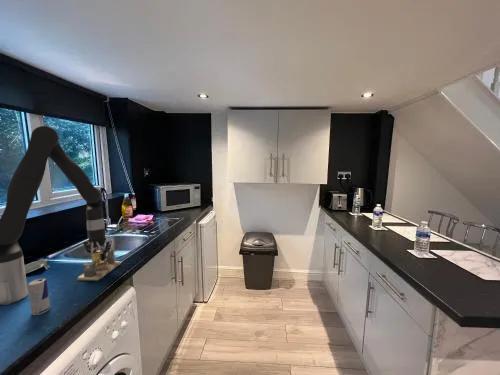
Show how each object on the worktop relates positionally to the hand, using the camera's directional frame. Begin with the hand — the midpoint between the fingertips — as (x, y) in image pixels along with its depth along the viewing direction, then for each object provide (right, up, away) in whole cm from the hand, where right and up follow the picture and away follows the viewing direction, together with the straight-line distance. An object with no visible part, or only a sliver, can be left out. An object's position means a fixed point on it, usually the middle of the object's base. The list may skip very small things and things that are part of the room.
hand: (99, 260), depth 121 cm
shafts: (0, -1, 0) cm, 1 cm away
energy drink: (-3, -10, -31) cm, 33 cm away
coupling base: (0, -6, +1) cm, 6 cm away
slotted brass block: (0, -1, 0) cm, 1 cm away
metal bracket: (-37, -7, +3) cm, 38 cm away
